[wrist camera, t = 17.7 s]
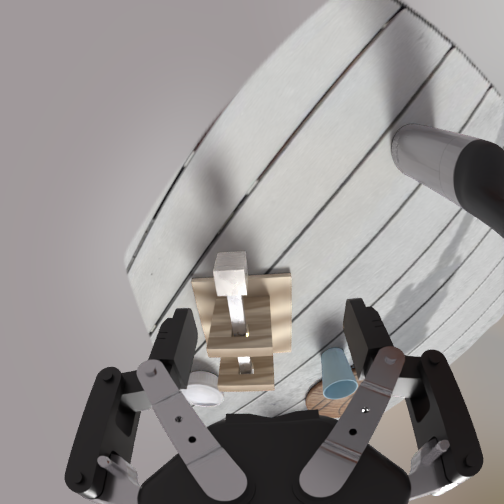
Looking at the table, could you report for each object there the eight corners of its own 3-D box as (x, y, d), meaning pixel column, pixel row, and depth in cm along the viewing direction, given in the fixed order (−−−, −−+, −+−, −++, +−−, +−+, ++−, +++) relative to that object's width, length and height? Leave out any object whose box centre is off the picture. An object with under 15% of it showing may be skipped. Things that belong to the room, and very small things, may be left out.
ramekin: (192, 392, 70) (190, 408, 66) (176, 369, 65) (172, 385, 61) (231, 390, 69) (229, 406, 64) (217, 365, 64) (215, 382, 59)
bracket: (192, 278, 52) (175, 330, 39) (290, 272, 51) (299, 326, 38) (210, 351, 61) (202, 401, 49) (290, 348, 60) (296, 399, 48)
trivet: (290, 409, 74) (291, 414, 72) (334, 360, 63) (335, 365, 61) (357, 414, 78) (358, 419, 76) (404, 370, 66) (406, 375, 65)
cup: (349, 360, 62) (358, 393, 53) (319, 368, 64) (325, 402, 55) (346, 340, 59) (357, 376, 50) (314, 349, 60) (320, 385, 51)
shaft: (217, 252, 40) (212, 271, 36) (245, 250, 40) (244, 269, 36) (238, 368, 53) (236, 388, 48) (258, 367, 52) (258, 387, 48)
